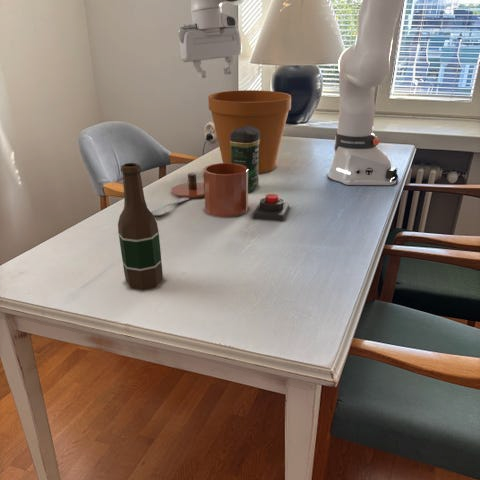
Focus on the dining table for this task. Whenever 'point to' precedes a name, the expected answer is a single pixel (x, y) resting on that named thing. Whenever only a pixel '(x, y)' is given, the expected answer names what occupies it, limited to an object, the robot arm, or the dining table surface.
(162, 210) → the spoon
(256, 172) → the coffee jar
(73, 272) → the dining table surface
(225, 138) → the flowerpot
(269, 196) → the button
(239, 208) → the jar
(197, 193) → the lid
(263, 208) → the block
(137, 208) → the beer bottle
